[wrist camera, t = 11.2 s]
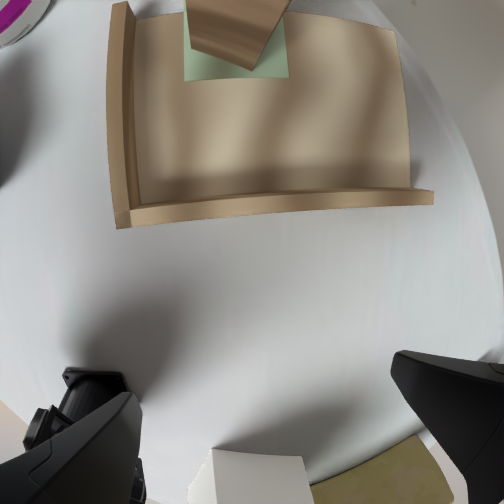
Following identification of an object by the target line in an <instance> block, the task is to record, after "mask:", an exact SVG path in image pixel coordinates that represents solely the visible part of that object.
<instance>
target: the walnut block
mask: <svg viewBox="0 0 504 504" xmlns="http://www.w3.org/2000/svg"><path fill="white" fill-rule="evenodd" d="M290 2H291V0H185V3H186V12H187V21H188V29H189V37H190V45H191V49H193V50H196V51H199V52H202V53H205V54H208V55H211V56H214V57H216V58H219V59H222V60H224V61H227V62H230V63H232V64H235V65H237V66H240V67H242V68H245V69H247V70H249V71H253V69H254V67H255V65H256V63H257V61H258V59H259V57H260V56H261V54H262V52H263V50H264V48H265V46H266V45H267V43H268V41H269V39H270V37H271V36H272V34H273V32H274V30H275V29H276V27H277V25H278V23H279V22H280V20H281V18H282V16H283V14H284V13H285V11H286V9H287V7H288V6H289V4H290Z"/></svg>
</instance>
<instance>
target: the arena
mask: <svg viewBox="0 0 504 504" xmlns="http://www.w3.org/2000/svg"><path fill="white" fill-rule="evenodd" d="M106 121H107V145H108V160H109V172H110V183H111V192H112V201H113V209H114V216H115V223H116V229H123V228H131V227H139V226H147V225H156V224H164V223H173V222H182V221H192V220H201V219H211V218H222V217H232V216H243V215H255V214H267V213H280V212H293V211H308V210H323V209H340V208H359V207H380V206H407V205H433V203H434V191H429V190H423V189H417V188H411V187H410V149H409V132H408V119H407V109H406V99H405V91H404V84H403V77H402V71H401V65H400V59H399V54H398V48H397V43H396V39H395V34H394V31H391V30H388V29H384V28H380V27H377V26H373V25H369V24H364V23H360V22H356V21H351V20H346V19H341V18H335V17H329V16H323V15H316V14H309V13H300V12H290V11H285V13H284V14H283V16H282V18H281V20H280V22H279V23H278V25H277V27H276V29H275V30H274V32H273V34H272V36H271V37H270V39H269V41H268V43H267V45H266V46H265V48H264V50H263V52H262V54H261V56H260V57H259V59H258V61H257V63H256V65H255V67H254V69H253V71H249V70H247V69H245V68H242V67H240V66H237V65H235V64H232V63H230V62H227V61H224V60H222V59H219V58H216V57H214V56H211V55H208V54H205V53H202V52H199V51H196V50H193V49H191V45H190V37H189V29H188V21H187V12H186V3H185V1H184V12H183V13H174V14H167V15H160V16H154V17H148V18H143V19H137V20H136V18H135V16H134V14H133V12H132V10H131V8H130V6H129V4H128V1H124V2H120V3H116V4H113V5H112V12H111V21H110V30H109V41H108V55H107V78H106Z"/></svg>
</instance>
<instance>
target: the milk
mask: <svg viewBox="0 0 504 504" xmlns="http://www.w3.org/2000/svg"><path fill="white" fill-rule="evenodd" d="M187 498H188V504H314V500H313V496H312V493H311V489H310V485H309V481H308V478H307V474H306V470H305V467H304V463H303V459H302V456H278V455H263V454H251V453H242V452H233V451H226V450H219V449H211V450H210V452H209V454H208V455H207V457H206V459H205V460H204V462H203V464H202V465H201V467H200V469H199V470H198V472H197V474H196V475H195V477H194V479H193V480H192V482H191V484H190V485H189V487H188V488H187Z"/></svg>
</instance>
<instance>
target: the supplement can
mask: <svg viewBox="0 0 504 504" xmlns="http://www.w3.org/2000/svg"><path fill="white" fill-rule="evenodd" d="M50 1H51V0H0V49H2V48H4V47H7V46H9V45H11V44H12V43H14V42H16V41H17V40H18V39H20V38H21V37H23V36H24V35H25V34H27V33H28V32H29V31H30V30H31V29H32V28H33V27H34V26H35V25H36V24H37V22H38V21H39V20H40V18H41V17H42V16H43V14H44V13H45V11H46V9H47V7H48V5H49V4H50Z"/></svg>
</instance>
